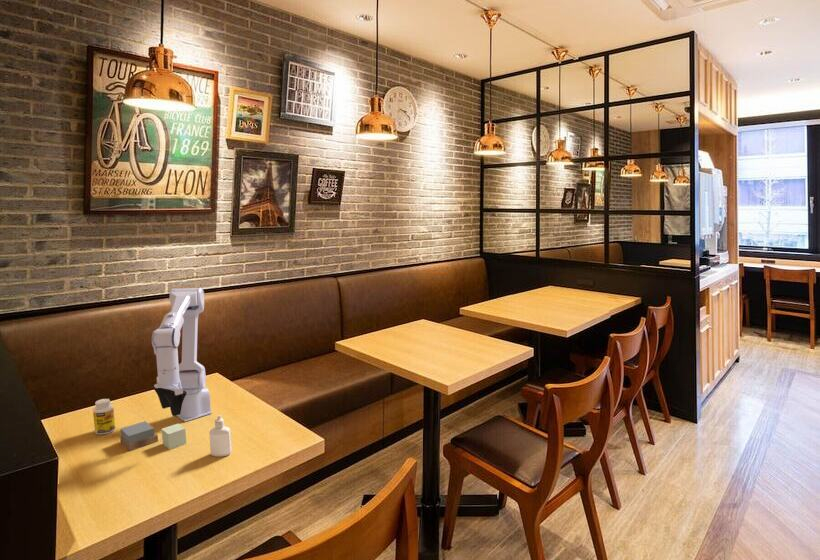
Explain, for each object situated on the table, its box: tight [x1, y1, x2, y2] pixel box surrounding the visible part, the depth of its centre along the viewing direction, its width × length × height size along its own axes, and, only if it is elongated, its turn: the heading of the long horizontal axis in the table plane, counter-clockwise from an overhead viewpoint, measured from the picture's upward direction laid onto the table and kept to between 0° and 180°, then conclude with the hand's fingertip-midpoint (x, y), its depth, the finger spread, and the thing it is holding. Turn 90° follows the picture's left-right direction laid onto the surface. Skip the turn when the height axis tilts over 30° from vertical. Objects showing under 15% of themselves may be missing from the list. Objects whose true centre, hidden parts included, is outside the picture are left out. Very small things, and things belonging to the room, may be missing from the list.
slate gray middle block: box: [120, 420, 155, 444], centre depth 149 cm, size 7×7×2 cm
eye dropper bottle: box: [209, 414, 233, 458], centre depth 142 cm, size 4×6×12 cm
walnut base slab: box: [119, 432, 159, 452], centre depth 149 cm, size 8×8×2 cm
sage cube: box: [161, 422, 187, 450], centre depth 148 cm, size 5×5×5 cm
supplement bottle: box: [92, 398, 116, 436], centre depth 155 cm, size 6×6×10 cm
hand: (171, 411), depth 147 cm, fingers open, 7 cm apart
